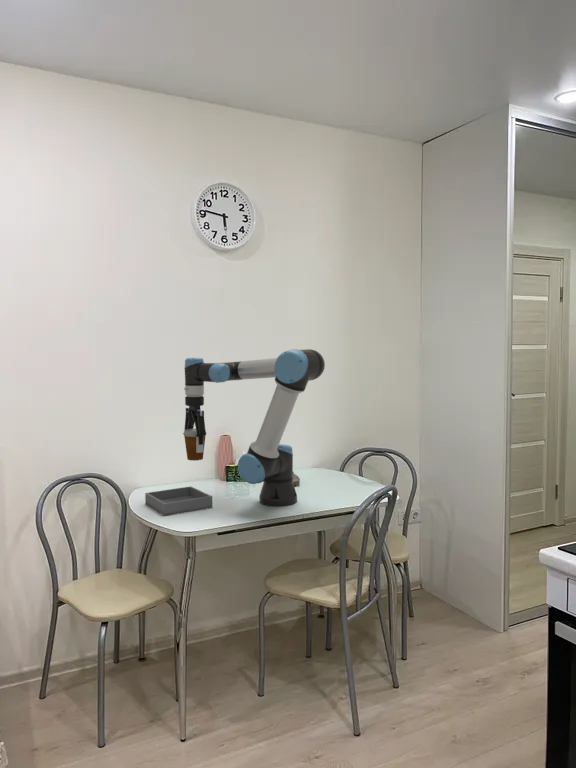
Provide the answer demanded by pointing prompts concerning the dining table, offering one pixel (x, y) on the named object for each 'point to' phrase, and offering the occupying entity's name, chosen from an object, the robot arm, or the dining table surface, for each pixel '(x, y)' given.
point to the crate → (178, 500)
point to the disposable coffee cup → (192, 445)
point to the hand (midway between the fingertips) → (195, 450)
